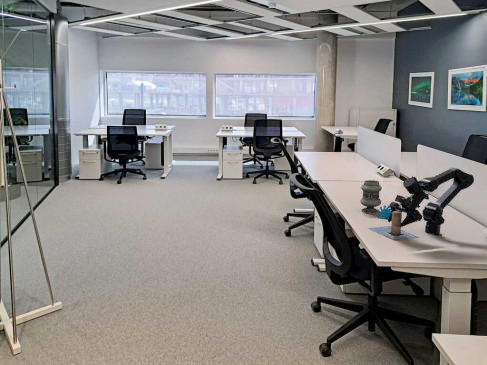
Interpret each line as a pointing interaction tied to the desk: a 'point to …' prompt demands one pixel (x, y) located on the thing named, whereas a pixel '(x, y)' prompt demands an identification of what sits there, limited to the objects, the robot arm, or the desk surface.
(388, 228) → the board
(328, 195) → the desk surface
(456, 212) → the desk surface
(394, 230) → the tan wooden peg
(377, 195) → the apothecary jar
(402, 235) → the metal collar
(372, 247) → the desk surface
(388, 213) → the blue virus model
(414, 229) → the desk surface
